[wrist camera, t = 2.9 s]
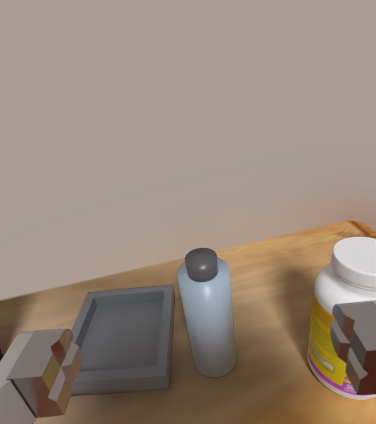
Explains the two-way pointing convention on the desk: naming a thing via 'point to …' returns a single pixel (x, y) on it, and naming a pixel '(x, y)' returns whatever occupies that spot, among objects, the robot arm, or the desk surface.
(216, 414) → the desk surface
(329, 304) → the supplement bottle
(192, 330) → the blue bottle
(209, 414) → the desk surface
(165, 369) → the box
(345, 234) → the desk surface
